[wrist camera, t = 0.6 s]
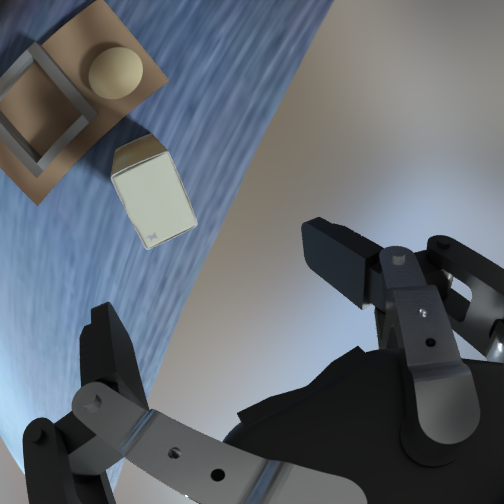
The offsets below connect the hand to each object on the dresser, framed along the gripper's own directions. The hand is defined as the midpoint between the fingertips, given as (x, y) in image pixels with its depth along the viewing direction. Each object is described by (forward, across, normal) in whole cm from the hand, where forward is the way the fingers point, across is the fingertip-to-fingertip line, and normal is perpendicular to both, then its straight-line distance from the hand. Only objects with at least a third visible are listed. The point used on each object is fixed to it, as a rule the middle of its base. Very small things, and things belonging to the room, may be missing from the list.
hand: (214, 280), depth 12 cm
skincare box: (+23, 0, -1) cm, 23 cm away
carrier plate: (+22, +6, -10) cm, 25 cm away
